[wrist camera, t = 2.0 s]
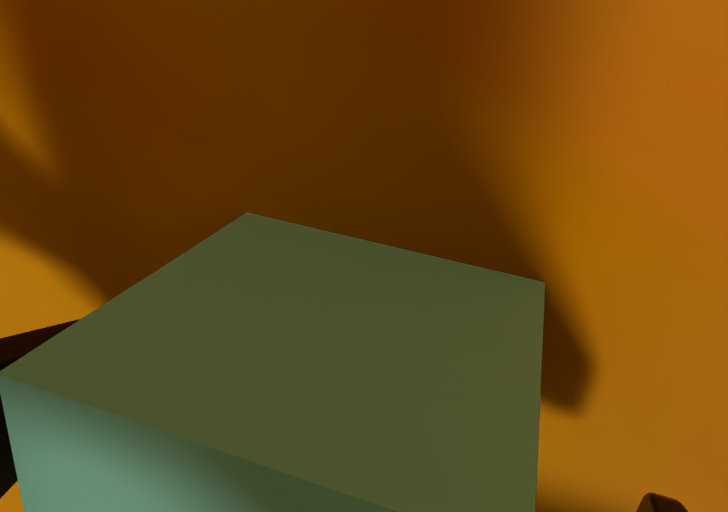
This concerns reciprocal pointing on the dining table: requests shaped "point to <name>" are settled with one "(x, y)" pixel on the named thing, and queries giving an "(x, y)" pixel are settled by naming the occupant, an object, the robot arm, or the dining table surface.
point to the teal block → (287, 384)
